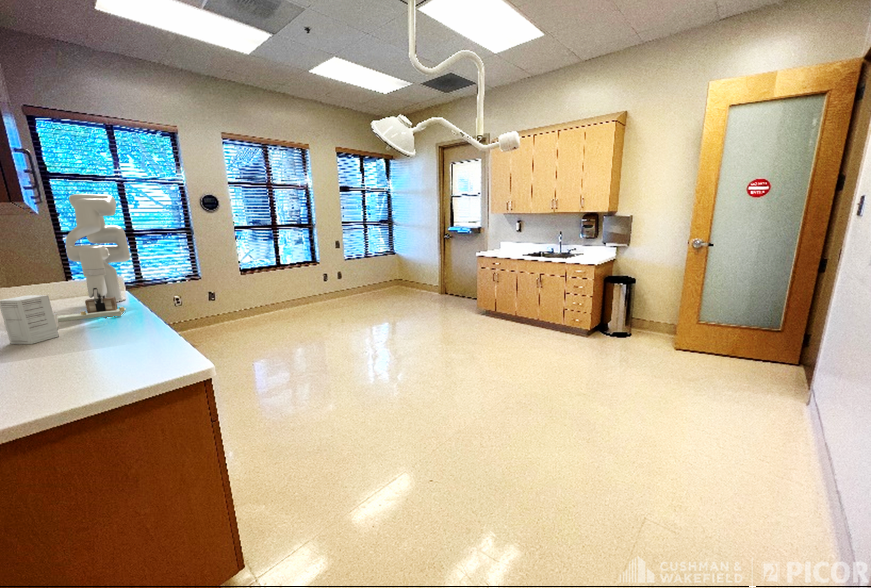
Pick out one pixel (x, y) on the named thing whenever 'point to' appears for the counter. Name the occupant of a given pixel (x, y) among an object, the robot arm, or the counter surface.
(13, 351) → the counter surface
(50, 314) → the supplement box
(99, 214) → the robot arm
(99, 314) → the panel
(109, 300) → the frame
